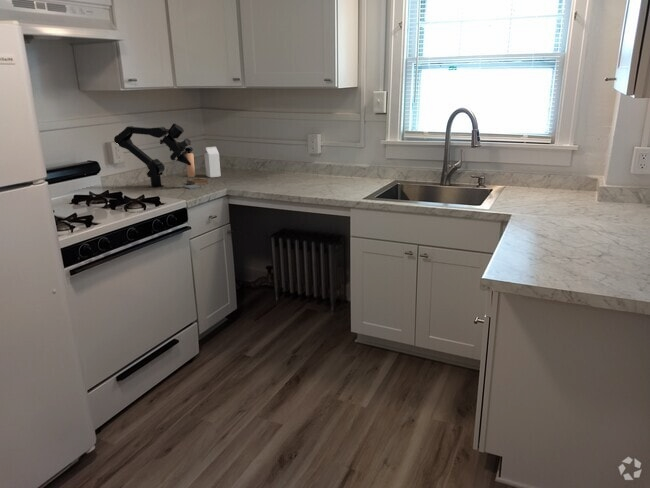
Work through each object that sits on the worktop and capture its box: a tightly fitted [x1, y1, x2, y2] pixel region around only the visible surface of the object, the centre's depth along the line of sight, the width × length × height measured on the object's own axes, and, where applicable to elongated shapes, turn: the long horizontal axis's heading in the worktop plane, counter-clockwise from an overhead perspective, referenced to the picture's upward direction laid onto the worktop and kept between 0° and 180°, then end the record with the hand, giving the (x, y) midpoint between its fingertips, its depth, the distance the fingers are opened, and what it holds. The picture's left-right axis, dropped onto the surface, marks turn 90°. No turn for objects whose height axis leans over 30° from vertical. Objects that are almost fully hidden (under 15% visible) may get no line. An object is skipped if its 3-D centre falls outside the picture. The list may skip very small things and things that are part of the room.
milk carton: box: [203, 146, 222, 178], centre depth 321 cm, size 7×7×19 cm
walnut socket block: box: [186, 177, 209, 186], centre depth 300 cm, size 9×9×2 cm
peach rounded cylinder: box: [185, 152, 196, 178], centre depth 285 cm, size 4×4×13 cm
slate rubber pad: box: [183, 184, 202, 190], centre depth 289 cm, size 7×7×1 cm
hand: (192, 164), depth 285 cm, fingers closed on peach rounded cylinder, 4 cm apart
